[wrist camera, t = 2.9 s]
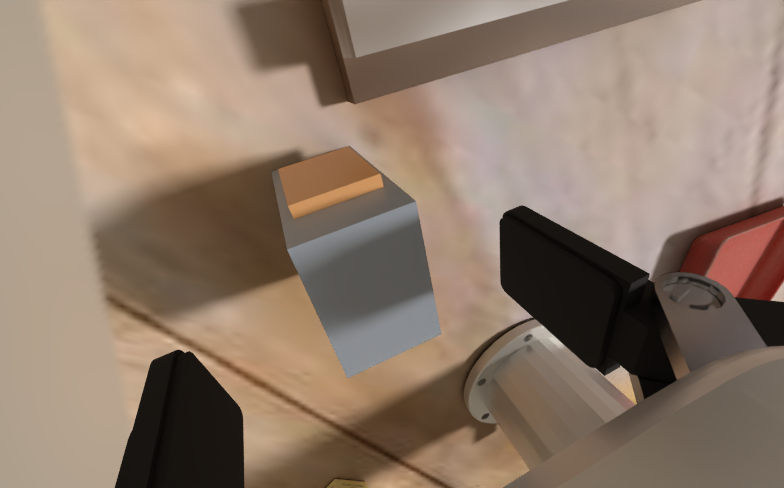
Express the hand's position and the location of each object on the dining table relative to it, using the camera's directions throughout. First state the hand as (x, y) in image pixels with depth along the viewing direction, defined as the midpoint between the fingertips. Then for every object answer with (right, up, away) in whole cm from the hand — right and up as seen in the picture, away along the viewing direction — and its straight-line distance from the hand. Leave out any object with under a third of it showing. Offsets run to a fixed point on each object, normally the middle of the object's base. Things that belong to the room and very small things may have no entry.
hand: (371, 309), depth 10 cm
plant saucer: (+38, -2, +29) cm, 48 cm away
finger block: (-3, +4, +8) cm, 9 cm away
